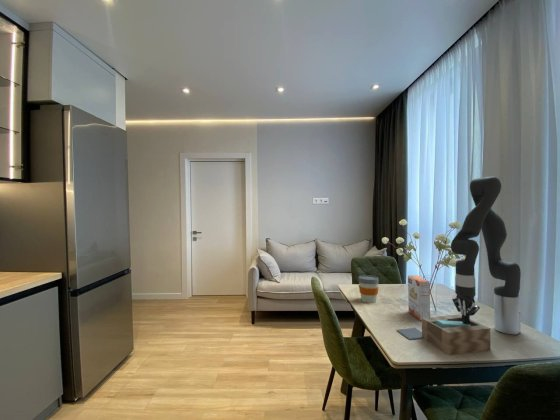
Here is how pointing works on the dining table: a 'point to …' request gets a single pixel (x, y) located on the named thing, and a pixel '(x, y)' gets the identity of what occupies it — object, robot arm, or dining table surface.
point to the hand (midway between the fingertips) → (465, 323)
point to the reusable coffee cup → (368, 288)
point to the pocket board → (456, 335)
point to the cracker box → (419, 296)
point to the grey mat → (411, 333)
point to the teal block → (450, 324)
